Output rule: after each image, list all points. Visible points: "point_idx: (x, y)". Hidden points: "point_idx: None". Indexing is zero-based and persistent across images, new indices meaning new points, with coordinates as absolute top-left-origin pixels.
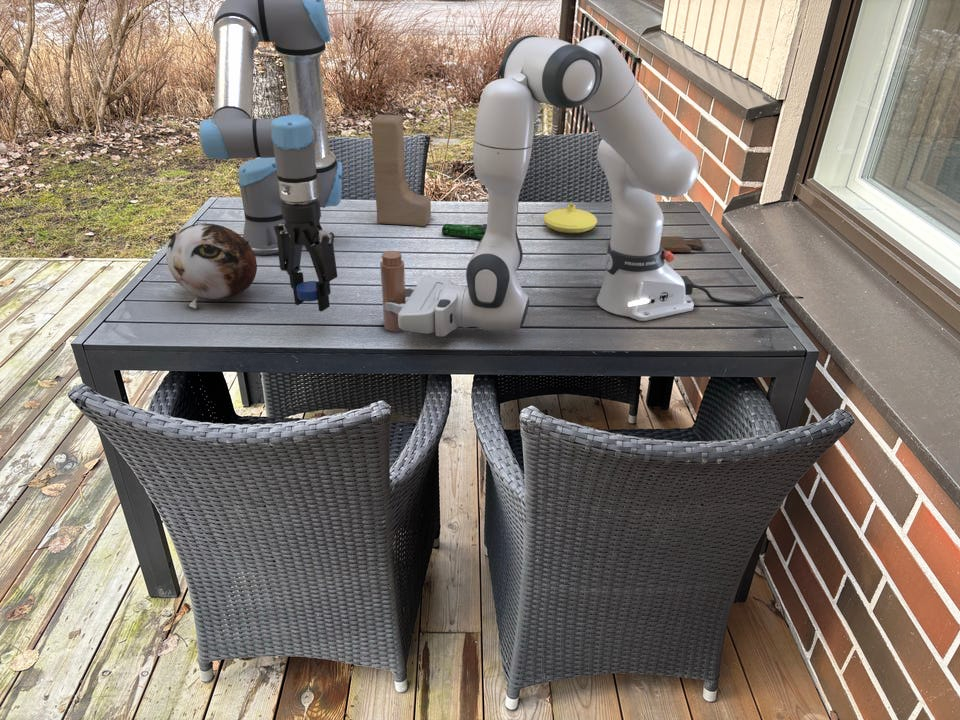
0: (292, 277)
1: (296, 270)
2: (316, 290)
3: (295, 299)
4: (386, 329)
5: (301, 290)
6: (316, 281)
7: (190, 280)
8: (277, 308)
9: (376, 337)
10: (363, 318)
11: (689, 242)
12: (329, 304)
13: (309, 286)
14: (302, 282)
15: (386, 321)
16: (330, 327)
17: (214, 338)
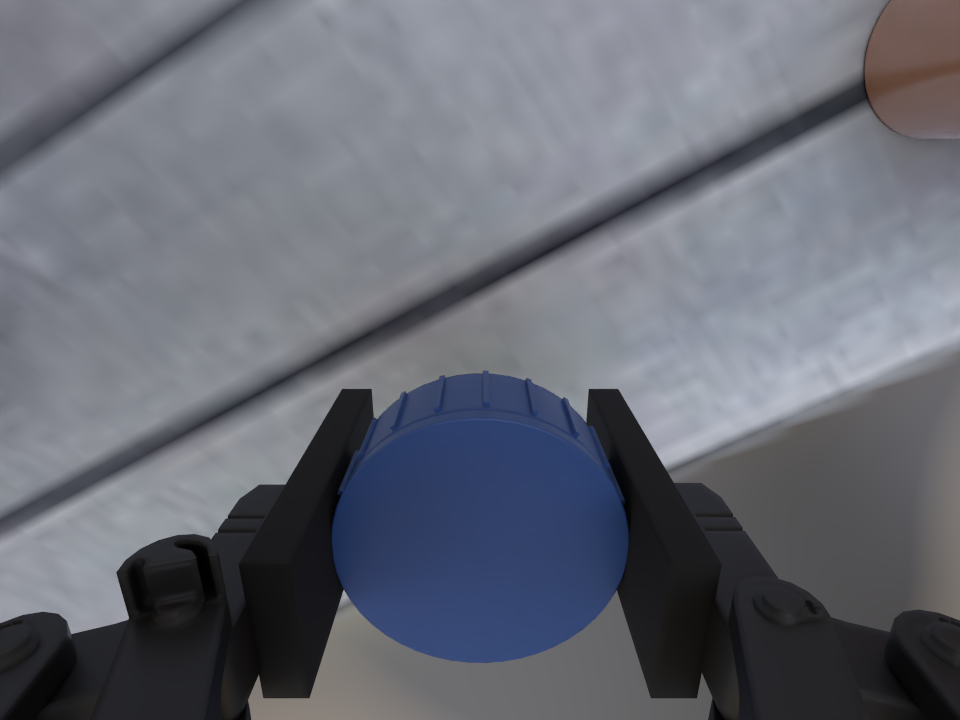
0: (283, 690)
1: (228, 656)
2: (608, 594)
3: None
4: (899, 132)
5: (470, 651)
6: (460, 428)
7: None
8: (58, 239)
9: (868, 256)
10: (672, 62)
11: None
12: (621, 396)
13: (477, 556)
14: (337, 516)
15: (957, 133)
16: (538, 286)
17: None
